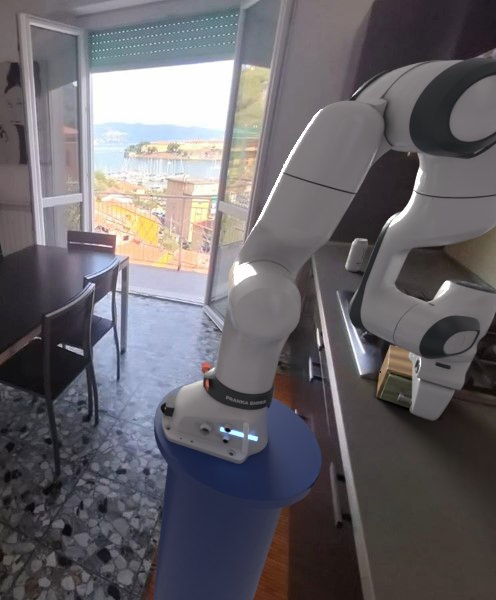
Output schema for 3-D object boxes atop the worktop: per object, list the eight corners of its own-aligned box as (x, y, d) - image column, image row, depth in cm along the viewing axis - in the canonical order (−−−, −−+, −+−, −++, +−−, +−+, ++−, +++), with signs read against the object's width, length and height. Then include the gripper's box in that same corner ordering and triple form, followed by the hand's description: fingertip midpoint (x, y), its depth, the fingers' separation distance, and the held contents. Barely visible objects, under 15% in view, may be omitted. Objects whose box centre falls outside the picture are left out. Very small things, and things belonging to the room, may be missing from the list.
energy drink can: (357, 273, 167) (367, 242, 161) (342, 269, 171) (351, 239, 165) (361, 270, 171) (370, 239, 165) (346, 267, 175) (355, 237, 169)
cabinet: (438, 417, 82) (453, 387, 78) (376, 397, 88) (387, 368, 85) (435, 388, 91) (449, 360, 88) (379, 371, 98) (390, 344, 94)
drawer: (437, 430, 77) (450, 405, 74) (378, 409, 83) (388, 386, 80) (434, 389, 89) (444, 367, 86) (382, 374, 95) (391, 352, 92)
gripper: (418, 332, 81) (397, 381, 86) (419, 374, 66) (393, 430, 72) (456, 340, 77) (431, 391, 83) (465, 388, 63) (435, 445, 68)
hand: (414, 410), depth 77 cm, fingers closed
